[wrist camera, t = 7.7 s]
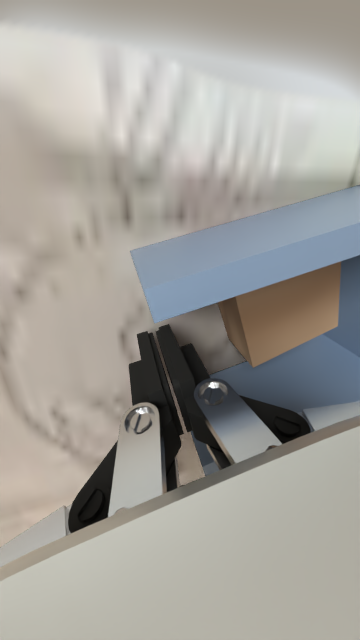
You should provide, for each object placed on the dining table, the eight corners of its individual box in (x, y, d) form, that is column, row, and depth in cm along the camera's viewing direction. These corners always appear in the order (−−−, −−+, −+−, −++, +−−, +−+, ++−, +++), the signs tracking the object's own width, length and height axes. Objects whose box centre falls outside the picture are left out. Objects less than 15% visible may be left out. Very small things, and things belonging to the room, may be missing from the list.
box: (331, 339, 16) (409, 388, 12) (179, 397, 15) (205, 476, 11) (359, 184, 11) (514, 174, 7) (130, 251, 10) (143, 289, 5)
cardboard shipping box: (296, 303, 14) (337, 326, 11) (227, 337, 14) (253, 367, 11) (291, 225, 11) (342, 231, 9) (204, 264, 11) (232, 283, 9)
